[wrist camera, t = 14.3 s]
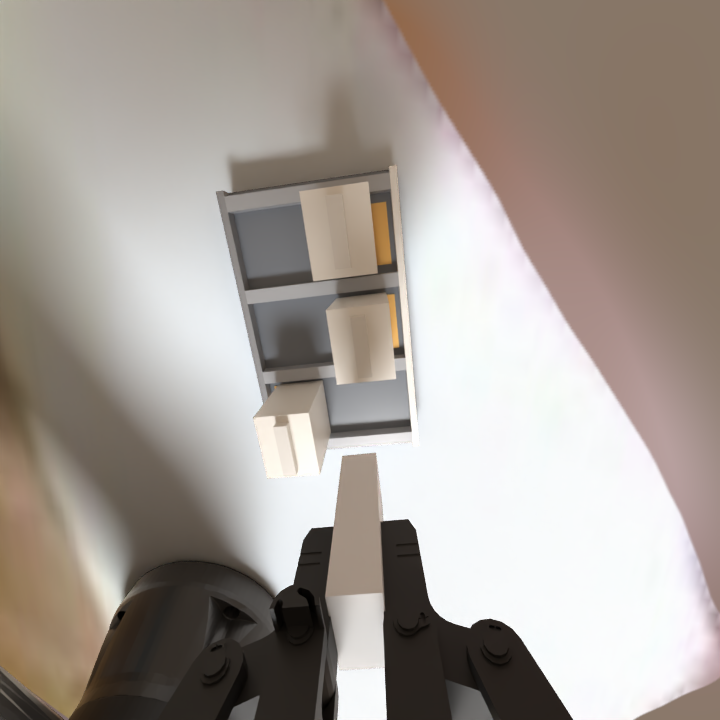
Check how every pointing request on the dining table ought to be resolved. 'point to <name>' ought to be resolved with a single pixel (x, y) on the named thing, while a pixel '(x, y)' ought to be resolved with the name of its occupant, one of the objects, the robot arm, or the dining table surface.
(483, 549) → the dining table surface
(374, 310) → the tab
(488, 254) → the dining table surface
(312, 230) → the tab
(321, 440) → the tab
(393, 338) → the switch bank
